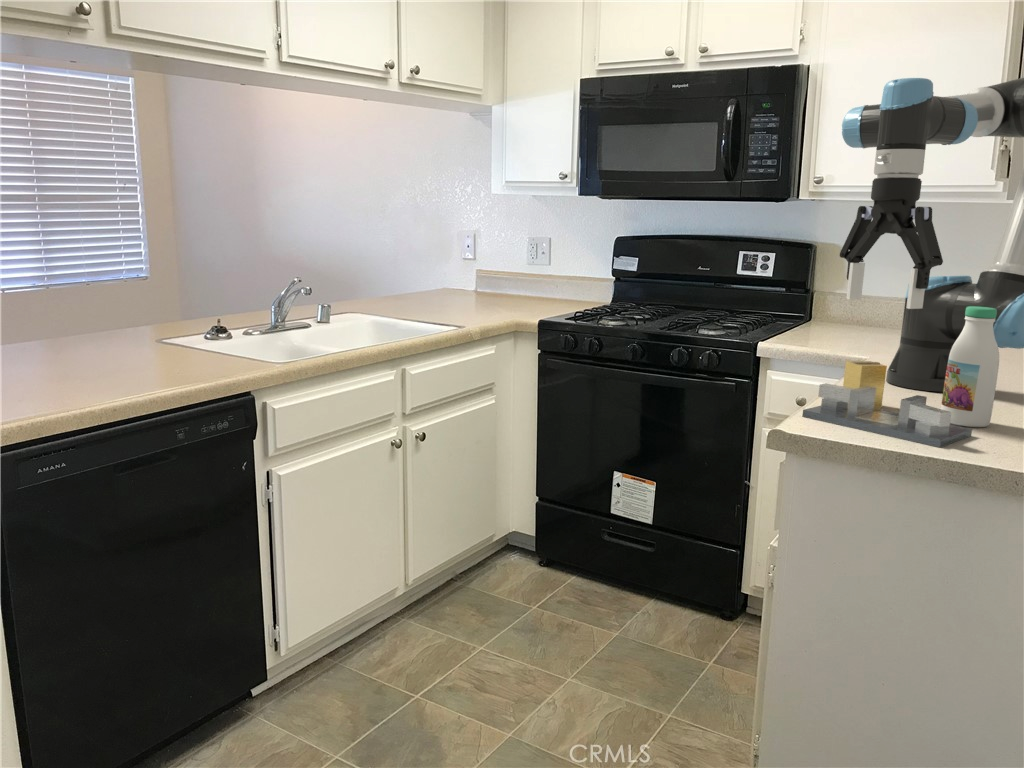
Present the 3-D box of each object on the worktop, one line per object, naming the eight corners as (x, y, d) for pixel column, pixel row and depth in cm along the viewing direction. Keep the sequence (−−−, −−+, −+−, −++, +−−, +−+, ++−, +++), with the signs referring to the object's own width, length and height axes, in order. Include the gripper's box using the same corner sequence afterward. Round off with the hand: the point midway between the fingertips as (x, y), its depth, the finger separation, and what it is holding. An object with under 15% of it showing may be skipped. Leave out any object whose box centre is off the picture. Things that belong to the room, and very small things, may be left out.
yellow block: (864, 402, 156) (870, 359, 154) (881, 408, 151) (886, 364, 149) (841, 402, 155) (846, 359, 153) (856, 409, 150) (862, 364, 148)
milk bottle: (973, 417, 146) (990, 305, 142) (999, 429, 139) (1018, 310, 135) (930, 416, 146) (946, 304, 142) (954, 427, 138) (972, 309, 134)
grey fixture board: (836, 407, 150) (840, 377, 149) (971, 436, 133) (976, 402, 132) (801, 416, 143) (805, 384, 141) (939, 447, 126) (945, 411, 124)
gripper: (826, 178, 148) (815, 296, 152) (942, 174, 125) (925, 313, 130) (859, 179, 150) (847, 295, 155) (979, 175, 128) (960, 312, 132)
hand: (882, 303), depth 142 cm, fingers open, 13 cm apart
